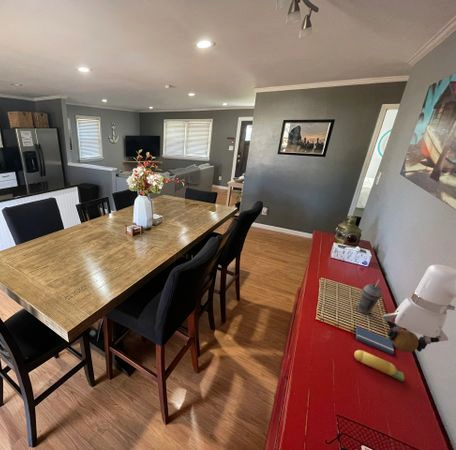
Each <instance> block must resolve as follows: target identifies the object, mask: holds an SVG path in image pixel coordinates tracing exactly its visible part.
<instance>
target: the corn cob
mask: <svg viewBox="0 0 456 450" xmlns="http://www.w3.org/2000/svg"><path fill="white" fill-rule="evenodd" d="M353 356H354V358H355V359H356V361H358V362H359V363H361V364H363V365H366V366H368V367H370V368H372V369H374V370H377V371H379V372H381V373H383V374H386V375H388V376H390V377H392V378H393V379H396V380H399V381H401V382H404V381H405V374H404V372H402V371H400V370H398V369H397V368H396V366H395V365H394V363H391V362H390V361H387V360H385V359H383V358H380V357H378V356H376V355H374V354H371V353H369V352H367V351H365V350H362V349H357V350H355V351H354V354H353Z"/></svg>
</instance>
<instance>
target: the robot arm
mask: <svg viewBox="0 0 456 450" xmlns="http://www.w3.org/2000/svg"><path fill="white" fill-rule="evenodd" d="M454 298H456V268H454V267H451V266H448V265H443V264H431V265H430V266H428V267H427V269H426V270H425V272H424V274H423V276H422V278H421V280H420V281H419V283H418V285H417V287H416V288H415V290H414V292H413V293H412V295H411V296H407V297H406V298H405V299H403V301H402V302H401V303H400V304H399V306H397V308H396V310H395V311H394V312H390V313H389V312H388V313H384V314H382V318H383V320H384V321H385V322H386V324H387V326H389V330H388V332H387V337H388V339H390V340H391V341H392V342H393V340H394V338H395V336H396V335H397V331H399V330H402V329H404V330H408V331H410V332H412V333H417V334H420V335H423V336H419V337H418V340H419V346H418V348H417V349H416V351H417V352H419V353H420V352H422V351H423V350H425V349H426V347H427V346H428V345H431V344H434V343H439V342H448V341H449V340H450V339H449V338H448V336H447V334H446V333H445V332H444V330H443V327H444V326H445V322H446V320H447V316H448V311H449V310H451V311H454V310H455V309H456V306H455V305H452V304H451V303H452V301H453V300H454ZM392 319H394V322H393V321H392Z"/></svg>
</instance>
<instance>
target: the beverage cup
mask: <svg viewBox="0 0 456 450" xmlns="http://www.w3.org/2000/svg"><path fill="white" fill-rule="evenodd" d="M380 281H381V279H380V278H378V279H377V282H376V284H371V283H369V284H367V285H365V286H364V287H363V288H362V293H361V296H360V300H359V303H358V305H357V310H358V312H360V313H361V314H365V315H368V314H370V313H371V311H372V310H373V308H374V307H375V306H376V304H377V302H378V301H379V300H381V298H382V297H383V290H382V289H381V287H380V286H378V285H379V283H380Z"/></svg>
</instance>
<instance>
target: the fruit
mask: <svg viewBox="0 0 456 450" xmlns="http://www.w3.org/2000/svg"><path fill="white" fill-rule="evenodd" d="M392 345H393V347H395V348H396V349H397V350H399V351H400V352H403V353H412V352H415V351H417V348H418V346H419V337H418V336H417V335H416V334H415V332H413V331H411V330H408V329H399V330H397V335H396V336H395V338H394V340H393V341H392Z"/></svg>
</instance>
